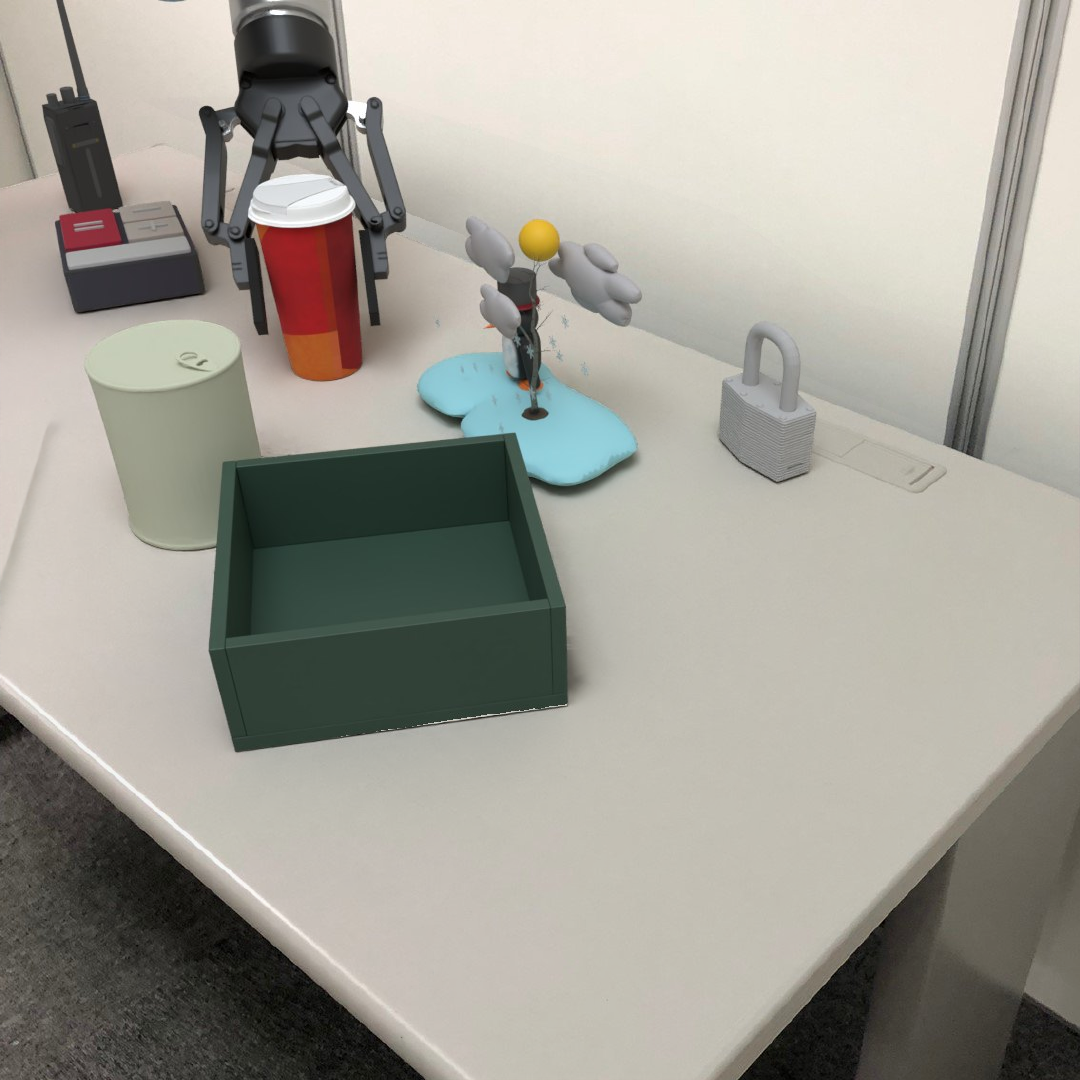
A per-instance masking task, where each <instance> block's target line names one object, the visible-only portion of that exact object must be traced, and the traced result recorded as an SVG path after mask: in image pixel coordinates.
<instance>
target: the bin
mask: <svg viewBox="0 0 1080 1080" xmlns="http://www.w3.org/2000/svg"><path fill="white" fill-rule="evenodd" d="M214 560H215V561H214V570H213V571H214V572H213V582H212V583H213V585H212V598H211V609H210V611H211V613H210V625H209V637H208V650H207V651H208V654H209V658H210V662H211V665H212V669H213V673H214V677H215V681H216V685H217V688H218V692H219V696H220V700H221V704H222V708H223V712H224V716H225V719H226V723H227V726H228V727H227V728H228V731H229V734H230V737H231V743H232V746H233V750H234V751H235V752H237V753H238V752H243V751H244V752H245V751H252V750H258V749H266V748H274V747H281V746H288V745H295V744H302V743H308V742H309V741H310V742H317V741H322V740H321V739H325V740H330V739H329V738H332V739H338V738H337V737H339V738H342V737H341V736H346V735H354V736H358V735H357V734H361V735H364V734H363V733H368V734H373V733H372V732H375V733H377V732H376V731H381V730H388V729H397V728H405V727H412V726H417V725H423V724H428V723H434V722H441V721H447V720H453V719H461V718H467V717H476V716H481V715H487V714H500V713H506V712H511V711H519V710H520V711H524V710H529V709H533V708H535V709H541V708H545V707H549V706H558V705H565V704H567V703H568V704H569V694H568V692H569V691H568V690H569V689H568V686H569V685H568V684H569V683H568V642H567V641H568V639H567V638H568V637H567V636H568V635H567V605H566V601H565V598H564V594H563V590H562V588H561V584H560V581H559V577H558V574H557V570H556V567H555V563H554V560H553V556H552V552H551V549H550V546H549V542H548V540H547V536H546V532H545V529H544V526H543V521H542V519H541V515H540V511H539V508H538V505H537V501H536V498H535V494H534V491H533V487H532V484H531V481H530V477H529V476H528V474H527V470H526V467H525V463H524V460H523V456H522V453H521V449H520V446H519V443H518V439H517V436H516V433H505V434H496V435H486V436H476V437H466V438H465V437H458V438H447V439H437V440H429V441H428V440H427V441H417V442H407V443H397V444H387V445H378V446H377V445H376V446H367V447H357V448H348V449H337V450H327V451H326V450H325V451H318V452H317V451H316V452H307V453H298V454H288V455H277V456H276V455H275V456H267V457H262V458H256V459H246V460H237V461H227V462H223V463H222V477H221V490H220V503H219V517H218V530H217V543H216V546H215V558H214ZM412 728H413V727H412ZM405 729H406V728H405ZM397 730H398V729H397ZM346 737H347V736H346ZM310 742H309V743H310Z"/></svg>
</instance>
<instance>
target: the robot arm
mask: <svg viewBox="0 0 1080 1080" xmlns="http://www.w3.org/2000/svg"><path fill="white" fill-rule="evenodd" d="M159 1H160V2H161V1H162V2H168V3H177V2H185V1H186V0H159ZM228 8H229V15H230V23H231V31H232V34H233V37H234V40H233V49H234V56H235V57H234V58H235V66H236V73H237V83H238V93H237V94H238V95H237V96H236V99H235V101H234V105H233V106H230V107H225V108H221V109H217V110H215V109H214V108H213V107H212V106H210V105H203V106H200V108H199V109H198V116H199V119H200V122H201V125H202V128H203V131H204V135H205V142H204V143H205V144H204V159H203V161H204V162H203V180H202V197H201V200H202V201H201V216H200V226H201V229H202V231H203V234H204V236H205V238H206V241H207V243H208V244H210V245H211V246H224V247H226V248H228V249H229V255H230V262H231V263H230V264H231V272H232V278H233V280H234V281H233V282H234V283H235V285H236V287H237V289H238V291H249V297H250V304H251V312H252V322H253V325H254V328H255V331H256V333H257V335H258V336H259V337H261V336H269V335H270V333H269V326H268V324H269V323H268V317H267V307H266V299H265V290H264V289H265V288H264V282H263V274H262V265H261V264H262V263H261V257H260V256H261V255H260V251H259V248H258V244H257V241H256V239H255V237H253V233H254V231H255V227H256V224H255V222H254V221H252V220H251V219H250V218H249V217H248V210H249V207H250V202H251V200H252V198H253V192H254V190H255V189H256V187H257V186H258V185H260V184H262V183H264V182H266V181H268V180H271V177H272V175H273V174H274V173H275V170H276V166H277V163H278V161H290V160H293V159H296V158H304V159H310V160H311V159H312V160H313V159H321V160H322V163H324V165H325V167H326V169H327V170H328V171H330V173H331V176H332V178H333V179H336V180H338V181H339V182H341V183H342V184H344V185H346V187H347V189H348V192H349V195H350V196H352V198H353V199H354V201H355V208H354V210H353V211H352V212H354V214H355V217H356V218H357V219H358V221H359V223H360V224H361V227H362V229H359V230H358V238H359V245H360V254H361V261H362V270H363V279H364V284H365V285H364V286H365V293H366V300H367V310H368V317H369V325H370V327H379V326H381V317H380V309H379V308H380V307H379V301H378V293H377V286H376V285H377V284H376V281H380V280H381V281H382V280H388V279H389V275H390V265H389V257H388V256H389V255H388V250H387V248H388V247H387V238H388V237H389V236H390V235H392V234H394V233H403V232H404V231H405V230H407V210H406V206H405V202H404V199H403V196H402V192H401V189H400V186H399V183H398V179H397V175H396V173H395V169H394V165H393V162H392V158H391V155H390V152H389V148H388V145H387V142H386V138H385V135H384V132H383V131H384V122H385V121H384V106H383V101H382V100H381V99H380V98H379V97H377V96H372V97H369V98H368V99H367V101H366V102H363V101H356V100H355V101H354V100H349V99H348V97H347V95H346V94H345V93H344V92H343V90H342V88H341V86H340V77H339V70H338V61H337V53H336V45H335V40H334V38H333V36H332V35H333V33H334V32H333V24H332V22H333V21H332V14H331V7H330V0H228ZM348 119H349V120H351V121H353V123H354V124H355V128H356V130H357V132H358V133H359V134H361V135H365V136H366V147H367V150H368V153H369V157H370V161H371V163H372V167H373V170H374V174H375V177H376V181H377V184H378V187H379V190H380V195H381V197H382V202H383V205H384V208H385V211H383V212H381V213H380V212H379V210H378V208H377V207H376V204H375V203H374V201H373V200H372V198H371V196H370V195H369V193H368V191H367V189H366V187H365V186H364V184H363V182H362V181H361V179H360V178H359V176H358V174H357V172H356V170H355V169H354V167H353V166H352V164H351V162H350V161H349V159H348V157H347V155H346V154H345V151H344V150H343V148H342V146H341V143H340V141H339V139H338V136H339V134H340V133H341V130H342V128H343V127H344V125H345V124H346V123H347V121H348ZM239 125H240V126H241V127H242V129H244V130H245V132H246V133H247V134H248V135H249V136H250V137H251V138H252V139H253V142H252V145H251V153H250V157H249V161H248V164H247V167H246V170H245V173H244V176H243V180H242V182H241V186H240V188H239V191H238V195H237V197H236V201H235V204H234V207H233V210H232V214H231V216H230V219H229V223H227V222H225V213H226V194H227V193H226V192H227V191H226V190H227V175H228V148H227V143H230V142H231V141H232V139H233V138H234V129H235V128H236V127H237V126H239ZM344 185H343V186H344Z"/></svg>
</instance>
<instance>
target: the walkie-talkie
mask: <svg viewBox="0 0 1080 1080" xmlns="http://www.w3.org/2000/svg"><path fill="white" fill-rule="evenodd" d="M55 1H56V6H57V10H58V15H59V19H60V22H61V27H62V31H63V35H64V40H65V43H66V49H67V52H68V57H69V61H70V65H71V69H72V73H73V77H74V82H75V86H76V93H77V96H76V95H75V92H74V87H73V86H70V85H69V86H62V87H60V88H58V90H59V93H60V97H61V100H59V99H58V95H57V94H56V93H55V92H50V93H47V94H45V96H46V100H47V103H44V104H41V108H42V115H43V121H44V124H45V127H46V131H47V136H48V138H49V142H50V145H51V146H50V147H51V149H52V150H51V151H52V153H53V157H54V161H55V164H56V167H57V171H58V175H59V178H60V182H61V185H62V189H63V193H64V196H65V199H66V203H67V206H68V208H69V209H70V210H71V211H74V212H75V213H79V212H87V211H94V210H102V209H112V210H113V211H114V210H116V209H119V207H123V199H122V196H121V191H120V187H119V184H118V183H119V182H118V180H117V176H116V172H115V168H114V163H113V161H112V157H111V152H110V149H109V145H108V140H107V137H106V133H105V129H104V124H103V121H102V117H101V112H100V109H99V105H98V102H97V100H95V99H93V98H91V95H90V92H89V88H88V87H87V84H86V80H85V77H84V73H83V70H82V69H83V68H82V66H81V61H80V58H79V54H78V51H77V47H76V43H75V40H74V39H75V38H74V36H73V32H72V29H71V24H70V21H69V17H68V13H67V9H66V7H65V3H64V0H55Z"/></svg>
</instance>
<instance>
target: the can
mask: <svg viewBox="0 0 1080 1080" xmlns="http://www.w3.org/2000/svg"><path fill="white" fill-rule="evenodd" d="M242 351H243V350H242V343H241V341H240V338H239V337H238V336H237V334H236V333H235V332H234V331H232V330H231V329H229V328H228V327H225V326H224V325H221V324H218V323H215V322H209V321H205V320H197V319H169V320H161V321H160V320H159V321H153V322H146V323H142V324H138V325H135V326H132V327H128V328H124V329H123V330H120V331H118V332H117V331H116V332H115V333H112V334H110V335H108V336H107V337H105V338H104V339H102V340H100V341H99V342H98V343H96V344H95V345H94V346H93V347H92V348H91V349H90V350H89V351H88V353H87V354H86V355H85V358H84V364H83V365H84V371H85V373H86V375H87V377H88V380H89V382H90V386H91V389H92V392H93V395H94V399H95V402H96V405H97V408H98V412H99V415H100V418H101V421H102V425H103V428H104V431H105V435H106V439H107V441H108V442H107V443H108V445H109V449H110V452H111V456H112V459H113V462H114V465H115V469H116V473H117V477H118V480H119V484H120V488H121V491H122V494H123V498H124V501H125V505H126V510H127V515H128V517H127V519H128V525H129V527H130V530H131V531H132V533H133V534H134V535H135V536H136V537H137V538H138V539H139V540H141V541H142V542H144V543H146V544H148V545H151V546H152V547H156V548H160V549H165V550H171V551H196V550H199V551H200V550H205V549H210V548H216V543H217V530H218V517H219V503H220V490H221V477H222V463H223V462H227V461H237V460H246V459H256V458H263V457H262V453H261V448H260V442H259V438H258V433H257V427H256V424H255V423H256V422H255V417H254V413H253V409H252V403H251V397H250V392H249V387H248V382H247V375H246V371H245V365H244V359H243V352H242Z"/></svg>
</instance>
